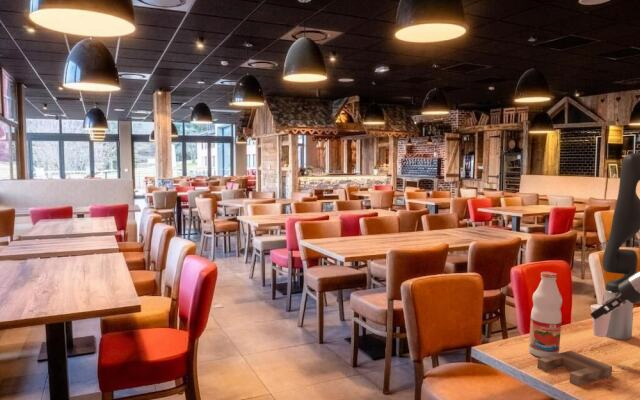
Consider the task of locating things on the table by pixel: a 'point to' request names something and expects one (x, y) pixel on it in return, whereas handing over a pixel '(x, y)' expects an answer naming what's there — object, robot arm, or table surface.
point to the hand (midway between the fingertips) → (595, 314)
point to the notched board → (576, 367)
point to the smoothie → (600, 321)
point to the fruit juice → (546, 317)
